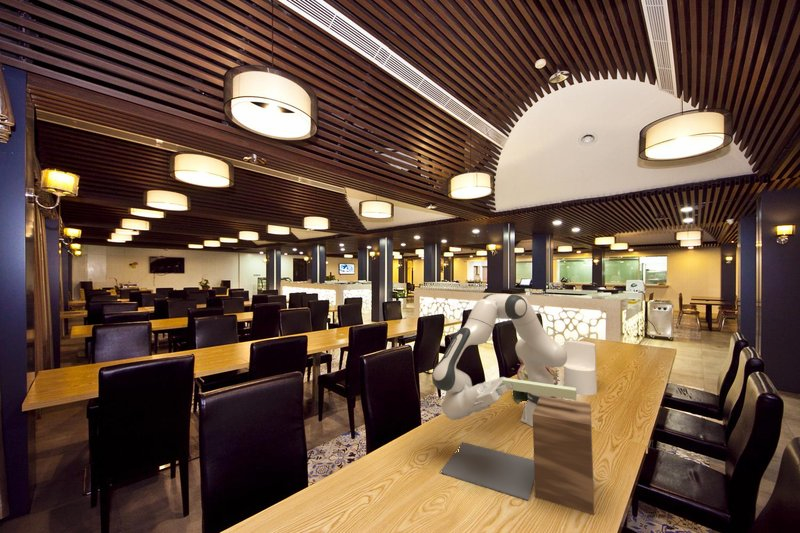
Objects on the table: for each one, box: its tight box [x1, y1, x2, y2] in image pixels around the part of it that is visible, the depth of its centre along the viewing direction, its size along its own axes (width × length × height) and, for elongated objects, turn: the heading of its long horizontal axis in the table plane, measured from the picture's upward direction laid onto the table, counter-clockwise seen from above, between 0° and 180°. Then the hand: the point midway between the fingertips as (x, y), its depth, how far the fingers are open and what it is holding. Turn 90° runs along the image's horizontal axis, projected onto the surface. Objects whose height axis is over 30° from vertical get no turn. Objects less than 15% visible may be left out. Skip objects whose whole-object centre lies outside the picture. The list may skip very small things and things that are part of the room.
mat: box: [439, 441, 535, 502], centre depth 119 cm, size 24×30×1 cm
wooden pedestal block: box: [532, 396, 595, 516], centre depth 107 cm, size 18×16×26 cm
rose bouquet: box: [507, 354, 561, 404], centre depth 186 cm, size 26×29×30 cm
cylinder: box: [563, 340, 598, 396], centre depth 197 cm, size 17×17×28 cm
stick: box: [503, 377, 577, 401], centre depth 111 cm, size 3×23×3 cm, turn 60°
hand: (513, 383), depth 116 cm, fingers closed on stick, 3 cm apart
